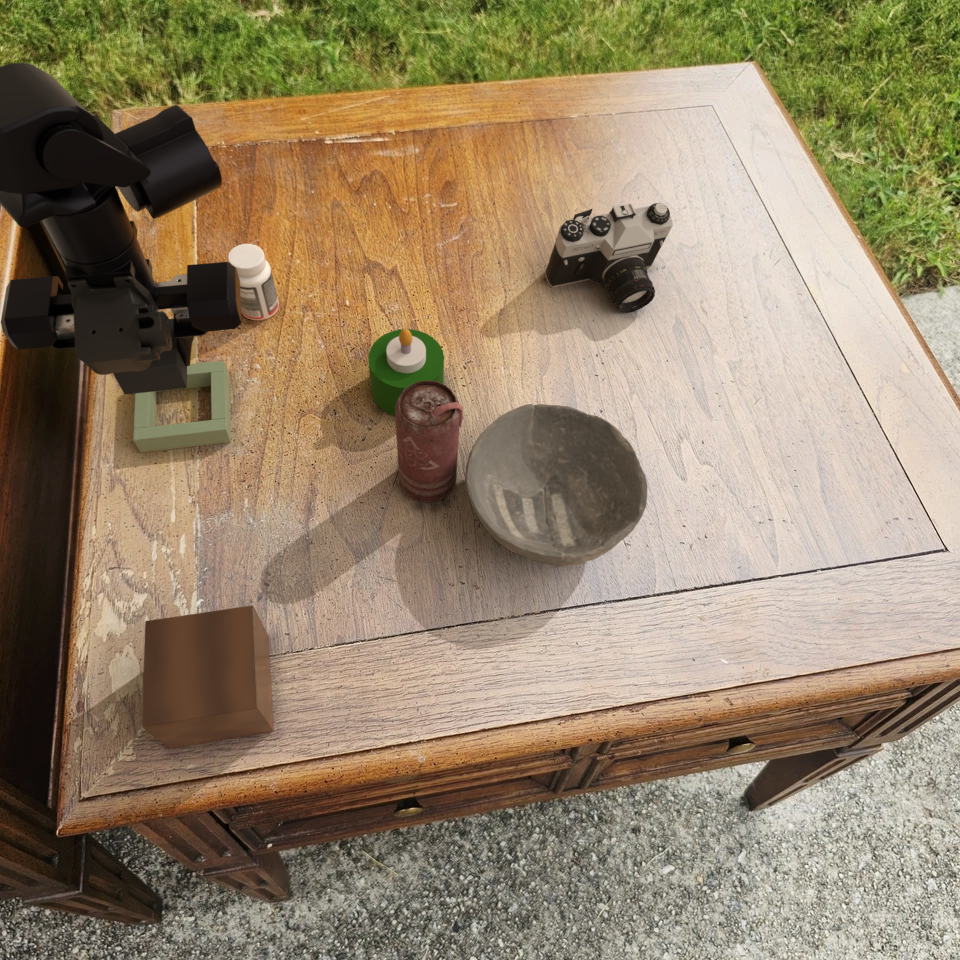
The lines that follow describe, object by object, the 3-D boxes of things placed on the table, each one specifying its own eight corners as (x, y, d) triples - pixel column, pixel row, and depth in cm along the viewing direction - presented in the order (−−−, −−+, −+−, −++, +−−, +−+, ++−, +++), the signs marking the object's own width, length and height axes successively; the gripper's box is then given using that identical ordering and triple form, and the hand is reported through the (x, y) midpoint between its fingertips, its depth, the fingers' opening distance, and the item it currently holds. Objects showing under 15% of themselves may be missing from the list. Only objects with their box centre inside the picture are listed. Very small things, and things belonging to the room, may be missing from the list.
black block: (124, 394, 73) (111, 371, 70) (127, 348, 76) (114, 323, 73) (187, 388, 74) (176, 364, 71) (187, 342, 77) (177, 317, 74)
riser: (169, 749, 69) (141, 727, 63) (171, 651, 74) (145, 620, 67) (274, 731, 71) (257, 708, 64) (269, 636, 75) (253, 604, 68)
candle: (433, 355, 94) (434, 295, 85) (451, 410, 90) (453, 353, 81) (364, 367, 92) (358, 307, 84) (379, 424, 88) (374, 367, 80)
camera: (567, 331, 99) (586, 285, 89) (539, 260, 102) (555, 208, 93) (671, 308, 102) (701, 261, 92) (641, 240, 105) (666, 188, 96)
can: (462, 500, 84) (468, 426, 72) (402, 507, 83) (398, 433, 71) (453, 453, 87) (458, 373, 75) (396, 459, 86) (391, 380, 74)
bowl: (447, 454, 87) (449, 412, 80) (599, 430, 90) (613, 387, 83) (484, 605, 78) (490, 571, 71) (651, 572, 81) (672, 537, 74)
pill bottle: (269, 287, 98) (257, 235, 91) (285, 312, 96) (274, 261, 89) (233, 301, 96) (217, 249, 89) (249, 327, 94) (234, 275, 87)
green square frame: (231, 442, 86) (226, 429, 84) (140, 453, 85) (132, 440, 82) (229, 374, 91) (224, 360, 89) (142, 383, 89) (135, 369, 87)
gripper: (-51, 328, 56) (42, 448, 69) (220, 304, 58) (259, 424, 72) (-28, 220, 61) (54, 350, 75) (218, 202, 64) (255, 331, 77)
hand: (155, 365), depth 75 cm, fingers closed on black block, 5 cm apart
